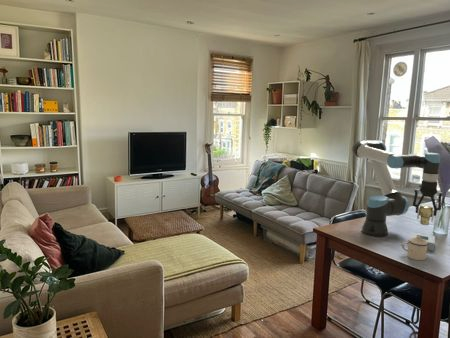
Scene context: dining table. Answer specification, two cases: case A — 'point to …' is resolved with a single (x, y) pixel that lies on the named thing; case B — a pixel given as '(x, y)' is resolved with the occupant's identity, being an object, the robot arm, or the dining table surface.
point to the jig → (427, 238)
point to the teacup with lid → (416, 248)
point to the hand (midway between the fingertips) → (424, 219)
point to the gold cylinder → (425, 214)
